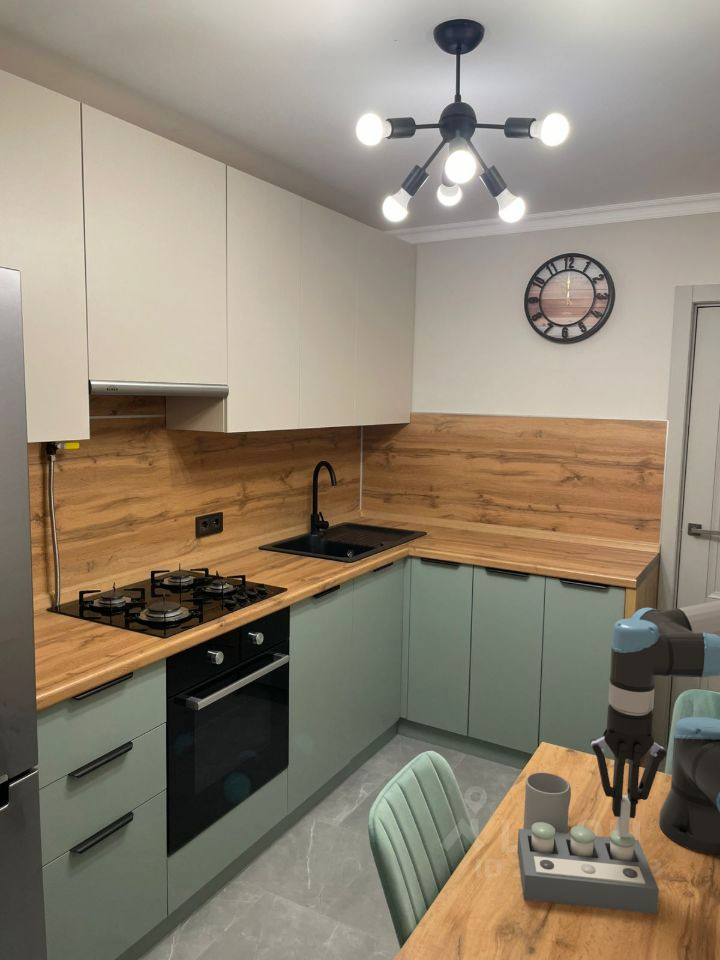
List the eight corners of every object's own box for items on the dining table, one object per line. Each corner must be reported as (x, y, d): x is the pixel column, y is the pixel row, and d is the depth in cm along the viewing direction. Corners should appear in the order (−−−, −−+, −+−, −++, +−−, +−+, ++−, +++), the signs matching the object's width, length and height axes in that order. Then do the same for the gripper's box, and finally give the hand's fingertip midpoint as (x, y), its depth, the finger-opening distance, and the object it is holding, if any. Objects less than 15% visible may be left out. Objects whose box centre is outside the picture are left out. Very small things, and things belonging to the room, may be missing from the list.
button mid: (591, 849, 134) (592, 827, 134) (595, 863, 130) (596, 840, 130) (567, 846, 135) (569, 824, 135) (571, 860, 131) (572, 838, 130)
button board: (637, 862, 136) (638, 840, 135) (657, 914, 122) (658, 889, 122) (517, 850, 139) (518, 828, 138) (523, 899, 125) (525, 874, 125)
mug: (551, 853, 138) (553, 799, 137) (514, 833, 145) (516, 781, 143) (585, 830, 146) (588, 778, 145) (549, 812, 152) (551, 762, 151)
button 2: (630, 852, 133) (631, 830, 133) (636, 867, 129) (637, 844, 129) (606, 850, 134) (608, 828, 134) (611, 864, 130) (612, 841, 129)
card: (638, 868, 127) (638, 865, 127) (645, 884, 123) (645, 881, 123) (533, 857, 129) (533, 855, 129) (536, 873, 125) (536, 870, 125)
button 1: (552, 845, 135) (553, 823, 135) (555, 858, 131) (556, 836, 131) (529, 842, 136) (530, 821, 135) (531, 856, 132) (532, 834, 131)
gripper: (662, 701, 132) (654, 824, 134) (588, 696, 133) (581, 817, 136) (674, 719, 124) (665, 849, 127) (596, 713, 126) (588, 841, 128)
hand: (622, 832), depth 131 cm, fingers closed
